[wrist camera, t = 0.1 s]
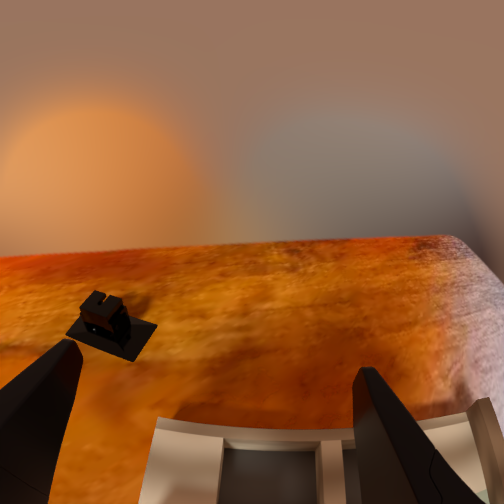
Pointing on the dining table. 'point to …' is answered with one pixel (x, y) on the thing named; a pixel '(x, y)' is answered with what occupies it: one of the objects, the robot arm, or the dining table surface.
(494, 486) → the trap board
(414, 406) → the dining table surface
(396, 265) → the dining table surface
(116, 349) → the black boxy piece
